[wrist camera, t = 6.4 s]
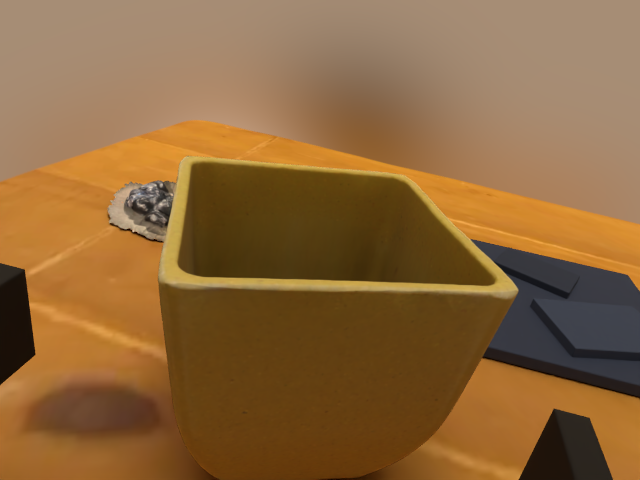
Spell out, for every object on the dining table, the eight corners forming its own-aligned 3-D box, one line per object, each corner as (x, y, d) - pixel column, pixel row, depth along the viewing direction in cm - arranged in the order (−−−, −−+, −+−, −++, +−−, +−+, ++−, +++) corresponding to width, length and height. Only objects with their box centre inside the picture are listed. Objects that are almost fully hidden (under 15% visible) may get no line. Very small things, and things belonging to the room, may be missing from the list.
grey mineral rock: (199, 190, 38) (200, 166, 37) (227, 238, 32) (230, 211, 31) (102, 192, 35) (101, 166, 34) (113, 246, 29) (112, 216, 28)
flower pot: (175, 348, 22) (181, 149, 18) (364, 348, 24) (408, 170, 20) (152, 551, 14) (154, 282, 10) (435, 526, 16) (529, 294, 12)
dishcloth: (623, 283, 35) (631, 267, 34) (716, 417, 23) (730, 397, 23) (466, 246, 36) (471, 231, 36) (481, 356, 25) (488, 336, 24)
